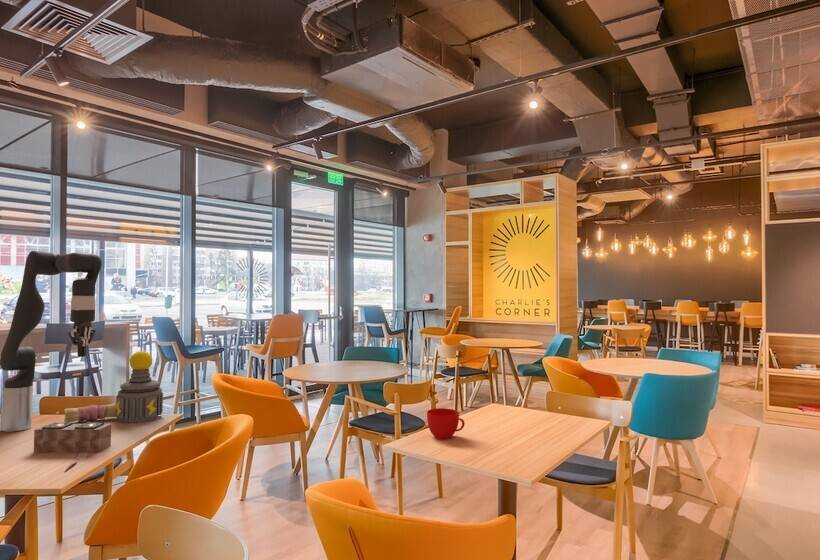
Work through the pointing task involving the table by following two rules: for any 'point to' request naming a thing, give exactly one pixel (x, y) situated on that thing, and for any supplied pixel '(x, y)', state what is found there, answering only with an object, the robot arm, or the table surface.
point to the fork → (76, 462)
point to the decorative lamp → (139, 393)
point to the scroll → (89, 413)
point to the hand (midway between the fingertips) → (81, 356)
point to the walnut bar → (72, 438)
